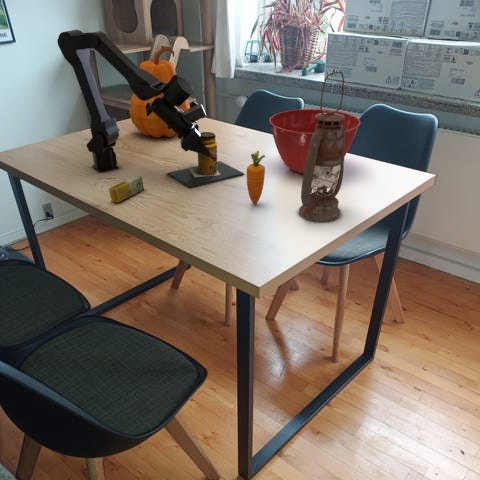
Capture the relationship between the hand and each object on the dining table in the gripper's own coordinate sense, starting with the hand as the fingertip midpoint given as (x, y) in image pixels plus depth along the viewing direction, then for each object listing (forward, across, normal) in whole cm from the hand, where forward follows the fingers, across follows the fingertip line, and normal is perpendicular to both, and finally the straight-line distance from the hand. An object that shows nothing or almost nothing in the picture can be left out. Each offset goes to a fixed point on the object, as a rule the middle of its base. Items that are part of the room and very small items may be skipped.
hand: (208, 151), depth 153 cm
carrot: (+13, -26, -2) cm, 29 cm away
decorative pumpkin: (-5, +48, +16) cm, 51 cm away
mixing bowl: (+29, +2, -19) cm, 34 cm away
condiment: (+4, 0, +6) cm, 7 cm away
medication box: (-12, -15, +23) cm, 30 cm away
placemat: (+4, 0, +6) cm, 7 cm away
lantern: (+24, -34, -14) cm, 44 cm away
